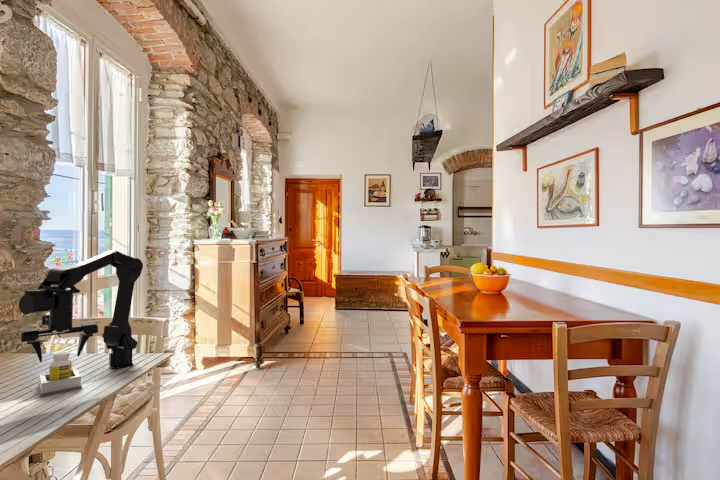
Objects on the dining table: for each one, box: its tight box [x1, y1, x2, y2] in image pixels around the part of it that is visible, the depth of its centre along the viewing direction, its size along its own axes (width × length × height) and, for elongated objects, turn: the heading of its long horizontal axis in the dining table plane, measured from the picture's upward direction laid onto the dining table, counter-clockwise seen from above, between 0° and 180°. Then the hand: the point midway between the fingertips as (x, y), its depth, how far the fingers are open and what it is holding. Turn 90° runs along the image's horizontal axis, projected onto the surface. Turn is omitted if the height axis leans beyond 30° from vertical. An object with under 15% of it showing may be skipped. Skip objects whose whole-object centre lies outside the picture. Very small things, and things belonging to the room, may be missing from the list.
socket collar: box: [37, 368, 83, 398], centre depth 120 cm, size 10×10×4 cm
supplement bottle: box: [49, 351, 73, 381], centre depth 120 cm, size 5×5×10 cm
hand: (60, 359), depth 120 cm, fingers open, 9 cm apart
